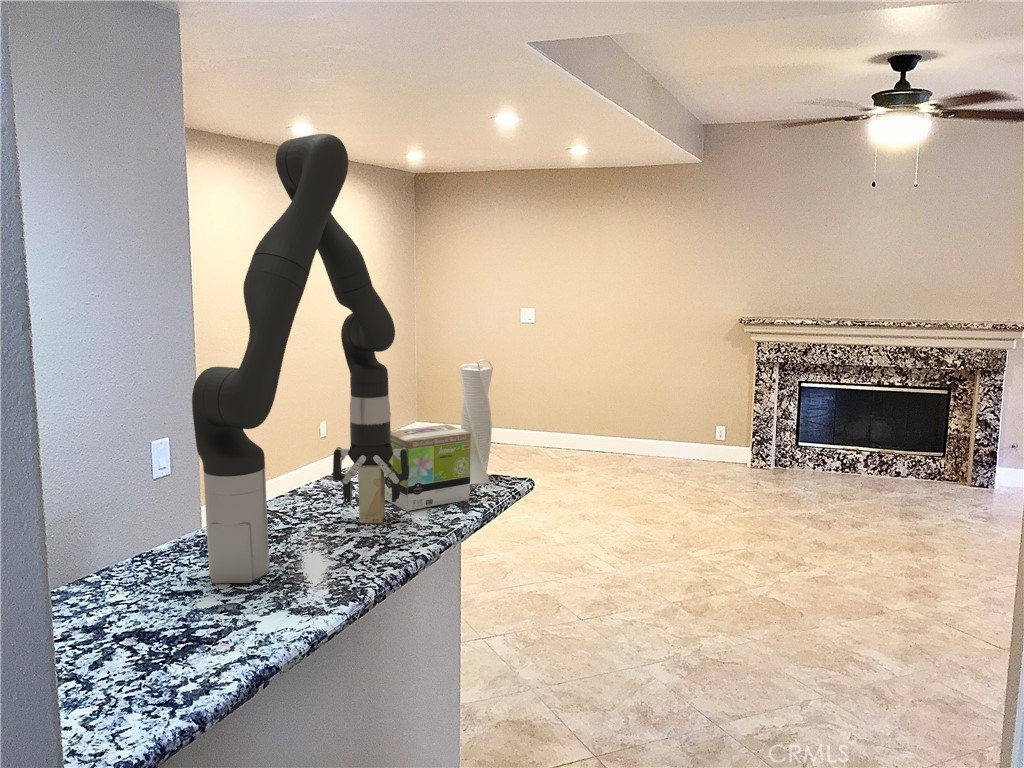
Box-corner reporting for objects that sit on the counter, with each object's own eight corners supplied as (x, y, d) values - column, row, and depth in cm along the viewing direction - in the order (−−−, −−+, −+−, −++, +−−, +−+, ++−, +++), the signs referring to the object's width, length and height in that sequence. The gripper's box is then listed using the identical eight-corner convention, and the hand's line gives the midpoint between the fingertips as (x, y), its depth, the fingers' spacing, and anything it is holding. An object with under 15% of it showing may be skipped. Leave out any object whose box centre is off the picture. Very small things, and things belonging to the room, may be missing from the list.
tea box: (408, 513, 164) (407, 440, 161) (384, 500, 172) (382, 431, 169) (471, 500, 173) (471, 430, 170) (446, 488, 181) (445, 422, 178)
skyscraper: (496, 485, 183) (496, 359, 179) (463, 487, 182) (462, 360, 177) (489, 475, 191) (489, 354, 186) (457, 477, 189) (456, 355, 185)
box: (381, 524, 157) (380, 467, 155) (358, 523, 157) (357, 467, 156) (385, 515, 162) (384, 460, 161) (364, 515, 163) (362, 460, 161)
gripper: (328, 422, 153) (331, 507, 155) (406, 422, 153) (407, 507, 156) (335, 414, 160) (337, 495, 163) (409, 414, 161) (410, 495, 163)
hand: (372, 501), depth 159 cm, fingers open, 8 cm apart
